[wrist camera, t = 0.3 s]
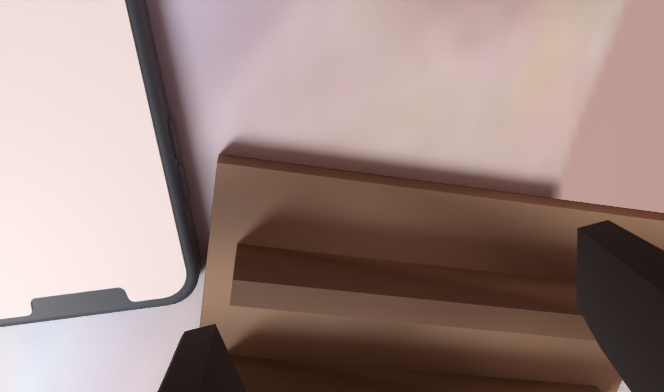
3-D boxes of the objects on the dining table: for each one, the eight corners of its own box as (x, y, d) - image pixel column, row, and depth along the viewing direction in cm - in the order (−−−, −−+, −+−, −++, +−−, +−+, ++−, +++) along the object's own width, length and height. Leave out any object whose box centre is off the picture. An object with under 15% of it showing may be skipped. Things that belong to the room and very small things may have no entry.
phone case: (-211, -170, 17) (-20, 309, 23) (-257, -179, 15) (-39, 335, 22) (110, -201, 17) (211, 280, 24) (95, -214, 16) (206, 303, 22)
